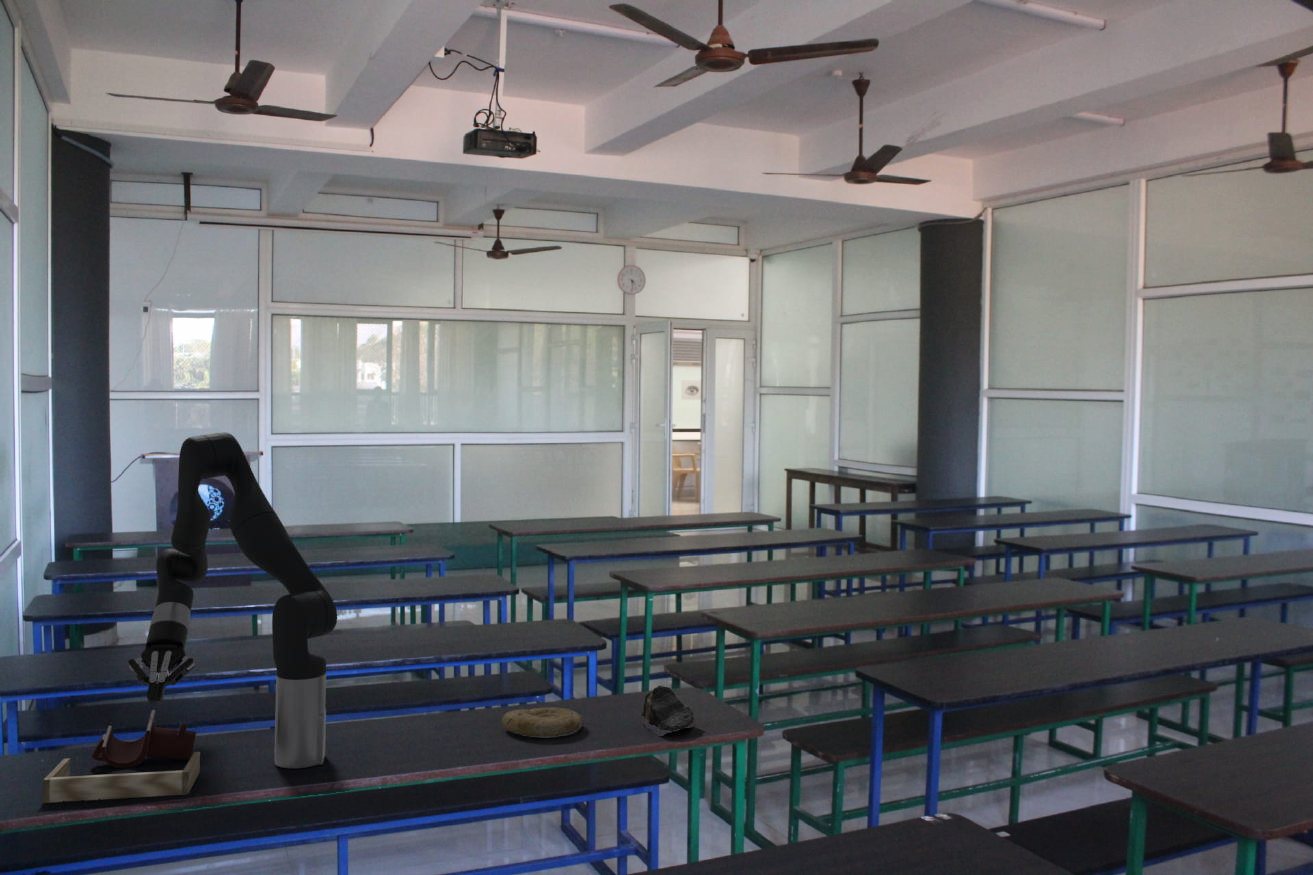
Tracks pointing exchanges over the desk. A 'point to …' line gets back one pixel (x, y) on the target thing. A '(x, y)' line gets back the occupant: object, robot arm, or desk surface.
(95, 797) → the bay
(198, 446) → the robot arm
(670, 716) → the rock
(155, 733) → the bracket
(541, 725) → the brown thick ring
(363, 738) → the desk surface
